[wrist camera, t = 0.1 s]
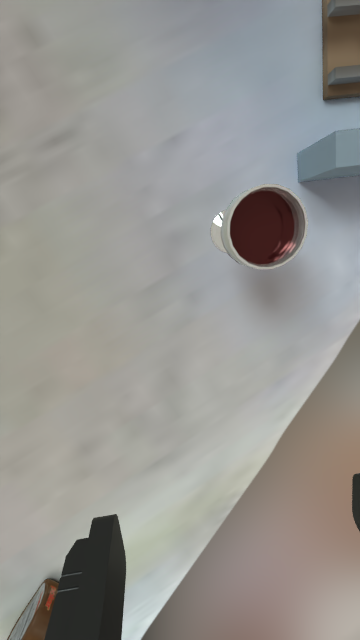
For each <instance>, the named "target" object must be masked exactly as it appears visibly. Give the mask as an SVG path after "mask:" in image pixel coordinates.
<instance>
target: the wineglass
mask: <svg viewBox="0 0 360 640" xmlns="http://www.w3.org/2000/svg"><path fill="white" fill-rule="evenodd" d="M307 226H308V220H307V215H306V210H305V207H304V206H303V204H302V202H301V200H300V199H299V197H298V196H297V195H295V194H294V193H293V192H292V191H291V190H290V189H288V188H285V187H283V186H280V185H278V184H263V185H260V186H257V187H254V188H251V189H249V190H246V191H244V192H242V193H241V194H240V195H238V196H237V197H236V198H234V199H233V200H232V202H231V203H230V205H229V206H228V207H227V209H226V210H225V211H222V212H221V213H220V214H218V215H217V216H216V218H215V219H214V221H213V223H212V226H211V237H212V241H213V243H214V244H215V246H216V247H217V248H218V249H220V250H221V251H223V252H226V253H228V254H229V256H230V257H231V258H232V259H234V260H235V261H236V262H238V263H239V264H241V265H244V266H247V267H250V268H256V269H274V268H277V267H280V266H283V265H284V264H286V263H287V262H289V261H290V260H291V259H293V258H294V257H295V256H296V254H297V253H298V252H299V250H300V249H301V248H302V246H303V243H304V241H305V238H306V236H307Z"/></svg>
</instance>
